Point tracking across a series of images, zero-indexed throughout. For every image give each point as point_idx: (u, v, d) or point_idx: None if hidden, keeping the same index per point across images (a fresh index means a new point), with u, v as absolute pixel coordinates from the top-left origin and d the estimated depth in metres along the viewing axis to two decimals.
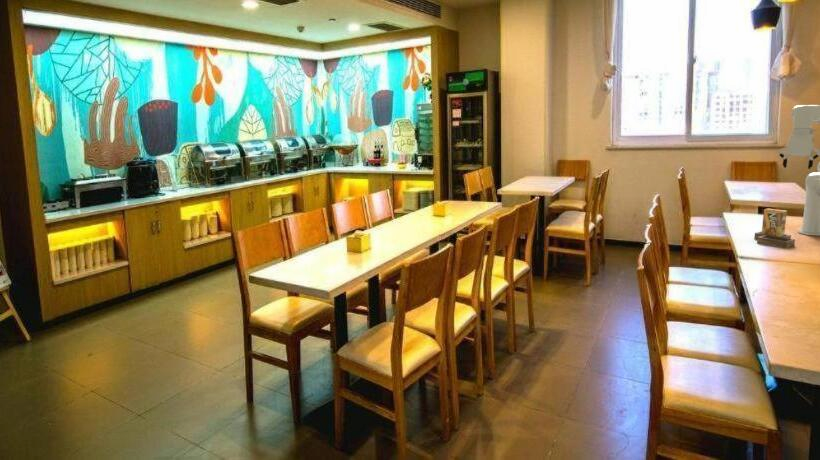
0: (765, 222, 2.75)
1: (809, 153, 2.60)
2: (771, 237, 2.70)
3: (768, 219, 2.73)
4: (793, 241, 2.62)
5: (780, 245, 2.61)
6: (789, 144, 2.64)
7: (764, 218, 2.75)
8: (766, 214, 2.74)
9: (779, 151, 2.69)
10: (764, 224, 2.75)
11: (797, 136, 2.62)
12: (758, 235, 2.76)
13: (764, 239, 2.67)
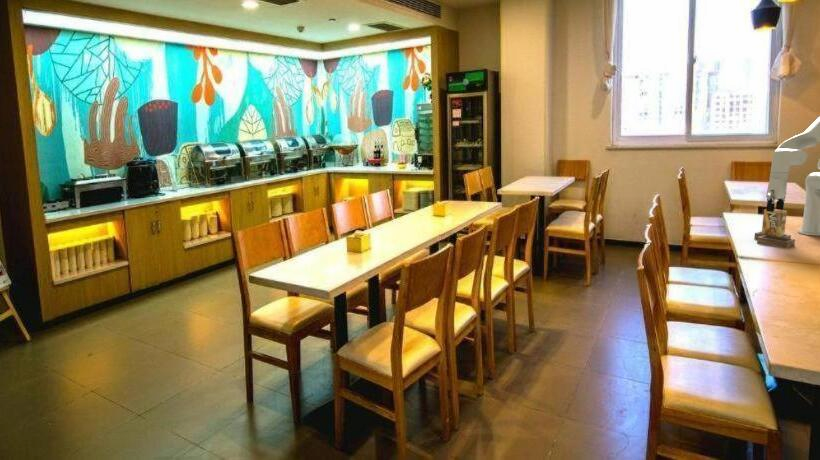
0: (765, 222, 2.75)
1: (785, 195, 2.71)
2: (771, 237, 2.70)
3: (768, 219, 2.73)
4: (793, 241, 2.62)
5: (780, 245, 2.61)
6: (778, 188, 2.65)
7: (764, 218, 2.75)
8: (766, 214, 2.74)
9: (770, 196, 2.65)
10: (764, 224, 2.75)
11: (783, 180, 2.66)
12: (758, 235, 2.76)
13: (764, 239, 2.67)
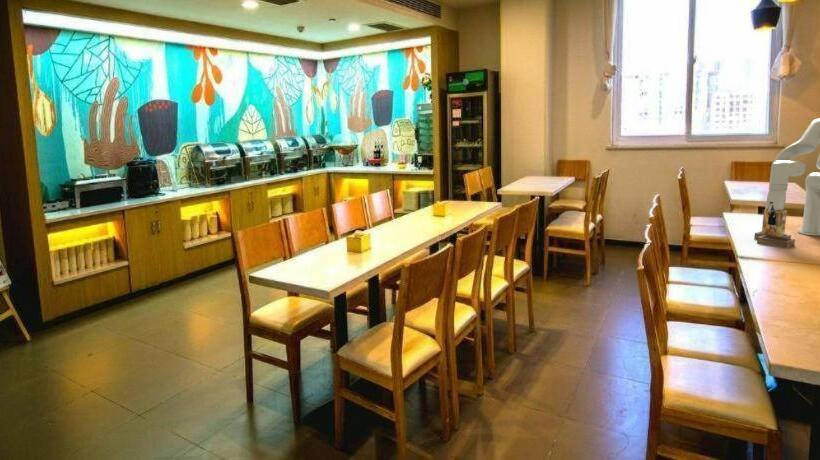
0: (765, 222, 2.75)
1: (784, 206, 2.72)
2: (771, 237, 2.70)
3: None
4: (793, 241, 2.62)
5: (780, 245, 2.61)
6: (777, 200, 2.67)
7: (764, 218, 2.75)
8: (766, 214, 2.74)
9: (770, 211, 2.68)
10: (764, 224, 2.75)
11: (782, 192, 2.67)
12: (758, 235, 2.76)
13: (764, 239, 2.67)
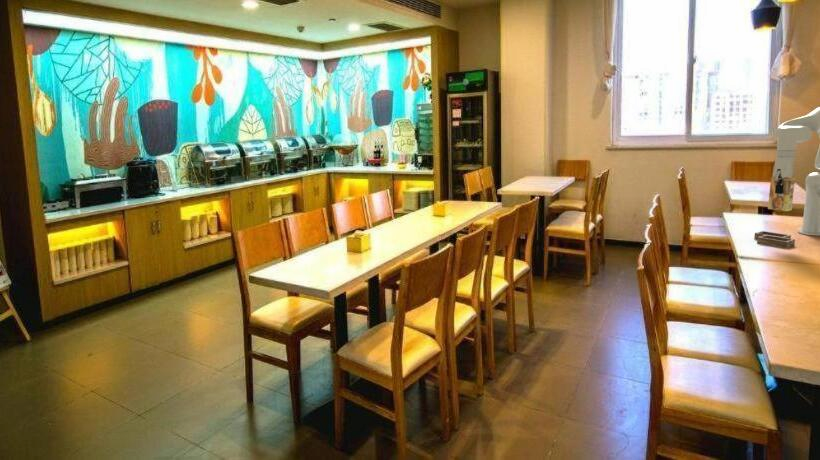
0: (772, 191, 2.63)
1: (792, 174, 2.60)
2: (771, 237, 2.70)
3: None
4: (793, 241, 2.62)
5: (780, 245, 2.61)
6: (785, 167, 2.55)
7: (771, 187, 2.63)
8: (773, 183, 2.62)
9: (778, 179, 2.56)
10: (771, 193, 2.63)
11: (790, 158, 2.55)
12: (758, 235, 2.76)
13: (764, 239, 2.67)
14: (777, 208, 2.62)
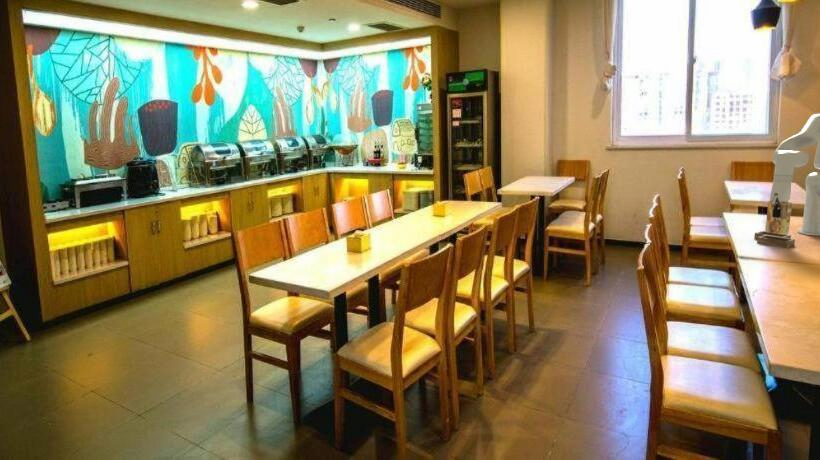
0: (769, 215, 2.65)
1: (789, 198, 2.63)
2: (771, 237, 2.70)
3: None
4: (793, 241, 2.62)
5: (780, 245, 2.61)
6: (782, 192, 2.57)
7: (768, 210, 2.65)
8: (770, 206, 2.64)
9: (775, 203, 2.58)
10: (768, 216, 2.65)
11: (787, 183, 2.58)
12: (758, 235, 2.76)
13: (764, 239, 2.67)
14: (774, 232, 2.64)
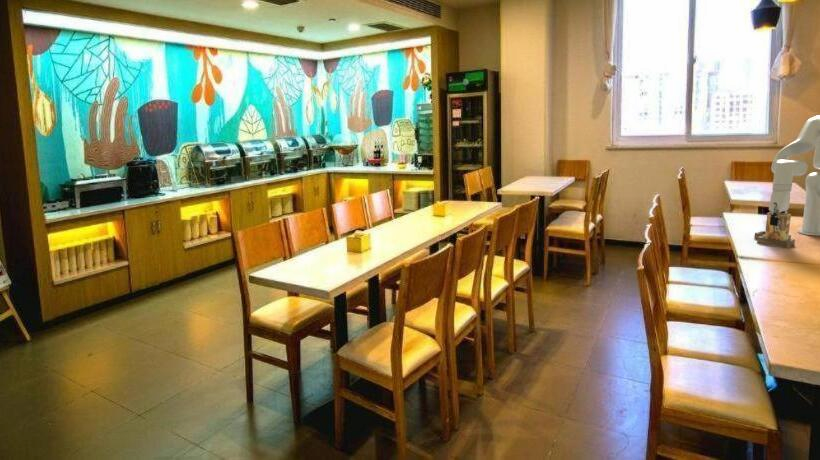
0: (768, 226, 2.66)
1: (788, 207, 2.63)
2: None
3: None
4: (793, 241, 2.62)
5: (780, 245, 2.61)
6: (781, 201, 2.58)
7: (767, 222, 2.66)
8: (769, 218, 2.65)
9: (773, 210, 2.58)
10: (767, 228, 2.67)
11: (786, 192, 2.58)
12: (758, 235, 2.76)
13: (764, 239, 2.67)
14: None
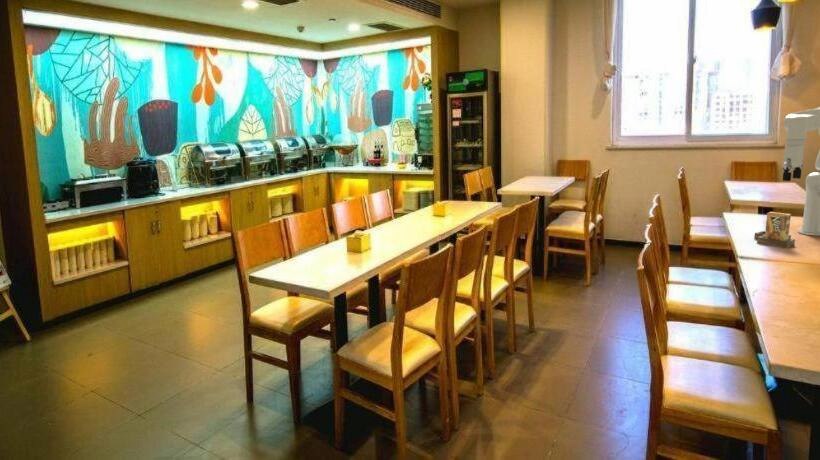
0: (768, 226, 2.66)
1: (802, 163, 2.60)
2: None
3: (772, 223, 2.65)
4: (793, 241, 2.62)
5: (780, 245, 2.61)
6: (795, 156, 2.55)
7: (767, 222, 2.66)
8: (769, 218, 2.65)
9: (786, 165, 2.55)
10: (767, 228, 2.67)
11: (799, 147, 2.55)
12: (758, 235, 2.76)
13: (764, 239, 2.67)
14: None
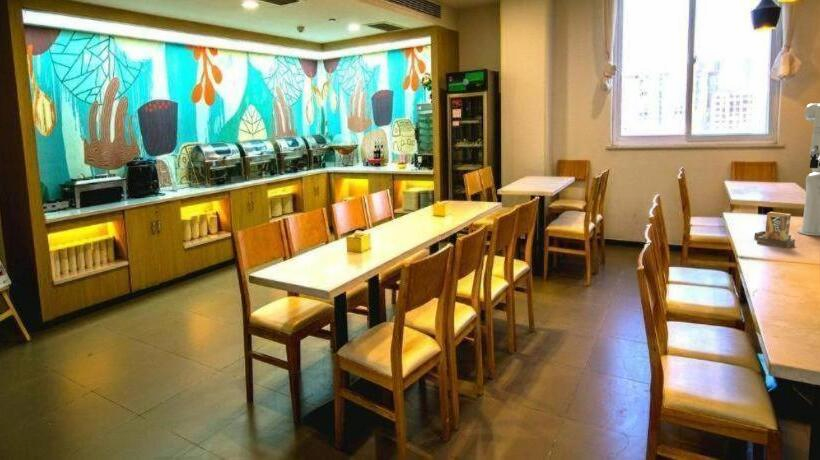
0: (768, 226, 2.66)
1: None
2: None
3: (772, 223, 2.65)
4: (793, 241, 2.62)
5: (780, 245, 2.61)
6: None
7: (767, 222, 2.66)
8: (769, 218, 2.65)
9: (814, 152, 2.56)
10: (767, 228, 2.67)
11: None
12: (758, 235, 2.76)
13: (764, 239, 2.67)
14: None
